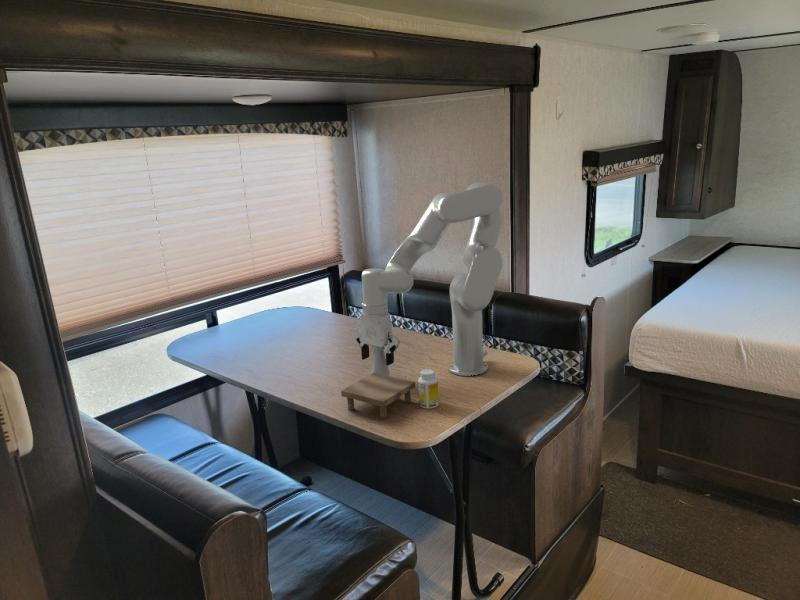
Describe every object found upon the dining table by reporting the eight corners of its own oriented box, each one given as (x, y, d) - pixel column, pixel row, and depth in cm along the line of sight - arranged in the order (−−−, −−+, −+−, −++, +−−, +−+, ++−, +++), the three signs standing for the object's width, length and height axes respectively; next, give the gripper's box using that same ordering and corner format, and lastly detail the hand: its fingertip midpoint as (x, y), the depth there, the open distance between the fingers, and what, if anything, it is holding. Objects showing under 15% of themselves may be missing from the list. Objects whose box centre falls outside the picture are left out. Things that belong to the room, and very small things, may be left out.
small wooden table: (375, 391, 174) (373, 372, 173) (416, 401, 165) (415, 381, 164) (342, 410, 162) (341, 390, 161) (385, 422, 154) (383, 401, 152)
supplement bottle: (440, 401, 164) (439, 368, 162) (436, 410, 159) (435, 376, 156) (422, 400, 166) (420, 367, 163) (417, 408, 161) (415, 374, 158)
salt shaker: (380, 375, 186) (377, 337, 183) (393, 379, 182) (391, 340, 179) (368, 381, 182) (365, 342, 178) (381, 385, 178) (378, 345, 175)
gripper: (346, 307, 178) (348, 359, 182) (390, 315, 168) (392, 370, 172) (361, 302, 184) (363, 352, 188) (405, 309, 174) (407, 362, 178)
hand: (377, 361), depth 180 cm, fingers open, 9 cm apart
